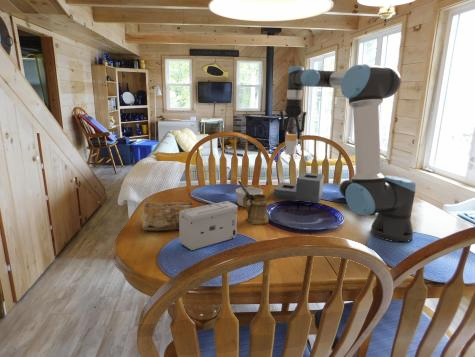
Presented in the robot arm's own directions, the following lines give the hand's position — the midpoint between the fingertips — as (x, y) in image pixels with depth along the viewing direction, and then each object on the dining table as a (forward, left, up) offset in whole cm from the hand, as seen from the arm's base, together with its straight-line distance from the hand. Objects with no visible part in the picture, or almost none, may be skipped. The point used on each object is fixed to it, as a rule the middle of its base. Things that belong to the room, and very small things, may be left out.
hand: (291, 144), depth 172 cm
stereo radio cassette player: (-69, +14, -28) cm, 76 cm away
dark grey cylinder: (-1, -36, -28) cm, 46 cm away
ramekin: (-22, +15, -28) cm, 39 cm away
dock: (0, -6, -28) cm, 28 cm away
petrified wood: (-63, +35, -28) cm, 77 cm away
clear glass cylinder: (0, 0, -5) cm, 5 cm away
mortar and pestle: (-43, +6, -28) cm, 52 cm away
